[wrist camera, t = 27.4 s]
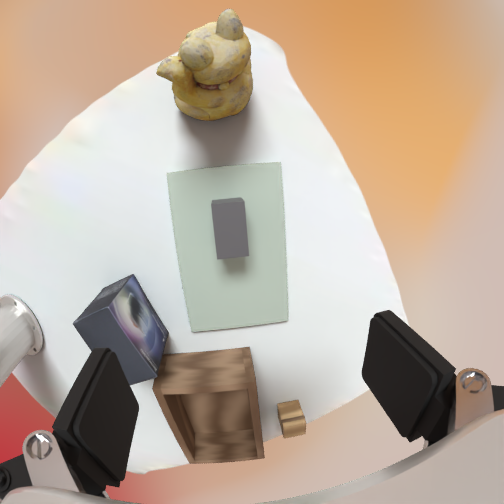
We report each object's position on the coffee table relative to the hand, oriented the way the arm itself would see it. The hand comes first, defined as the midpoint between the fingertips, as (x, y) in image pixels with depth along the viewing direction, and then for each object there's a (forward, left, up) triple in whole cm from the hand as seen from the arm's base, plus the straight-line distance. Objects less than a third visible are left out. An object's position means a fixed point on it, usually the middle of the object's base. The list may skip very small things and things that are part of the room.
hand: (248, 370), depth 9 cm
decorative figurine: (0, +17, -27) cm, 32 cm away
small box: (-15, -11, -27) cm, 33 cm away
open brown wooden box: (-6, -30, -27) cm, 41 cm away
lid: (0, -4, -28) cm, 28 cm away
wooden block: (+7, -36, -27) cm, 45 cm away
